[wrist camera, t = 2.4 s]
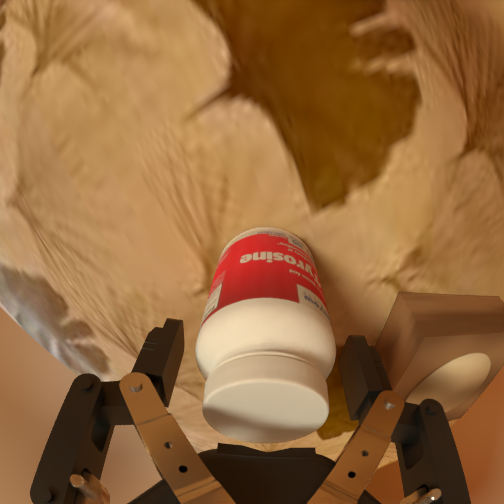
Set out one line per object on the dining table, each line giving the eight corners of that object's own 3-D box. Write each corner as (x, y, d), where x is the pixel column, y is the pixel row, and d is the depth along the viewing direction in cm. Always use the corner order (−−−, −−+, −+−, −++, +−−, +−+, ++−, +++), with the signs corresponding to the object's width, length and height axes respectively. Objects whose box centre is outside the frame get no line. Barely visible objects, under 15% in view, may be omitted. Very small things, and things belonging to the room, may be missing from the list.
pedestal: (398, 291, 20) (426, 339, 15) (498, 296, 20) (527, 331, 16) (352, 392, 26) (361, 436, 21) (445, 384, 26) (461, 419, 21)
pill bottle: (331, 249, 19) (384, 391, 9) (284, 317, 21) (294, 459, 11) (242, 206, 18) (216, 340, 8) (204, 284, 20) (164, 427, 10)
